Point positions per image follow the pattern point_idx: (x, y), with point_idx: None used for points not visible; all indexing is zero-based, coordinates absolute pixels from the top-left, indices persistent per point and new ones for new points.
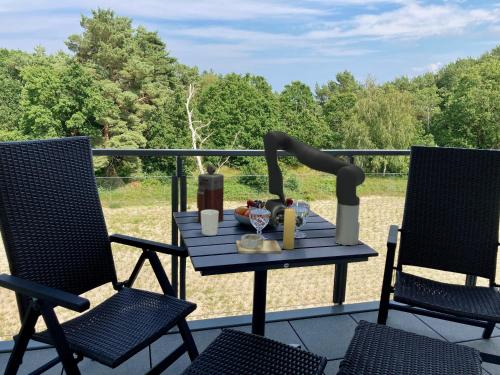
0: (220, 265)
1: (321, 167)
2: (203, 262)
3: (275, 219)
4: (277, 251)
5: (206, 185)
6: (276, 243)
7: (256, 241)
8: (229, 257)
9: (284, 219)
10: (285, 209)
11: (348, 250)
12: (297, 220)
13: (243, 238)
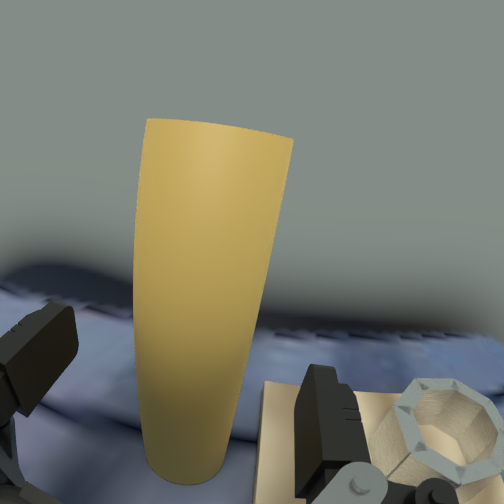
0: (456, 334)
1: None
2: (497, 350)
3: (363, 476)
4: (287, 387)
5: None
6: (268, 494)
7: (419, 381)
8: (463, 374)
9: (268, 262)
10: (281, 137)
11: None
12: (9, 344)
13: (488, 403)
